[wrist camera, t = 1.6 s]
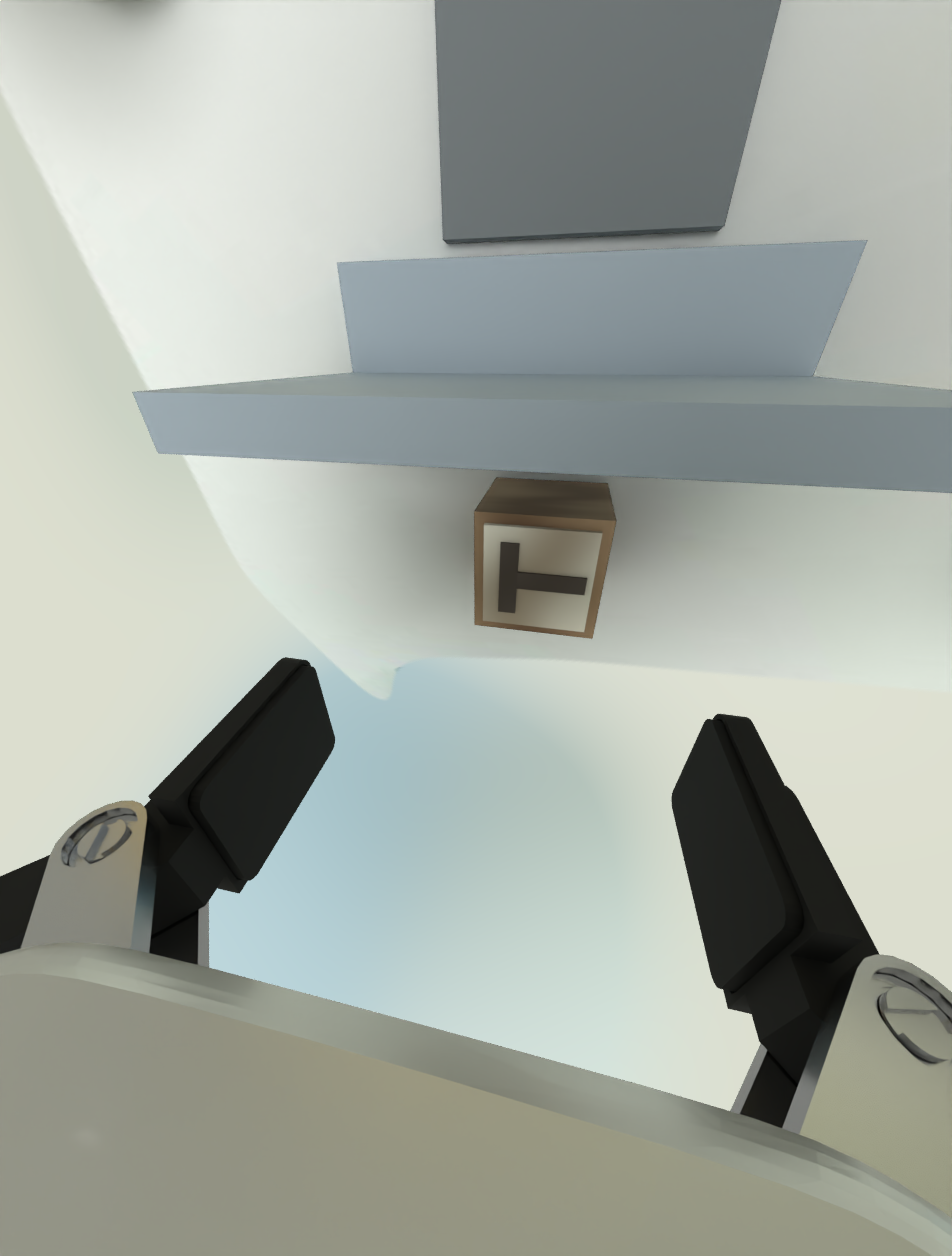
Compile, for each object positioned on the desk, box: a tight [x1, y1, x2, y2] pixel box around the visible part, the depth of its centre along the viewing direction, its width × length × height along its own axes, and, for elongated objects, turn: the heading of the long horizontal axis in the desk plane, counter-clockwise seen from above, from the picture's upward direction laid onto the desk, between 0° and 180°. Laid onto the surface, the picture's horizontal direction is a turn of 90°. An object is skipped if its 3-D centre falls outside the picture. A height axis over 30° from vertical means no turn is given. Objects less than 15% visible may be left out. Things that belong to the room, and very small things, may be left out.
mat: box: [435, 0, 781, 244], centre depth 11 cm, size 9×9×1 cm
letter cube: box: [474, 478, 616, 639], centre depth 17 cm, size 5×5×5 cm
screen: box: [132, 240, 952, 493], centre depth 11 cm, size 17×5×11 cm, turn 89°
